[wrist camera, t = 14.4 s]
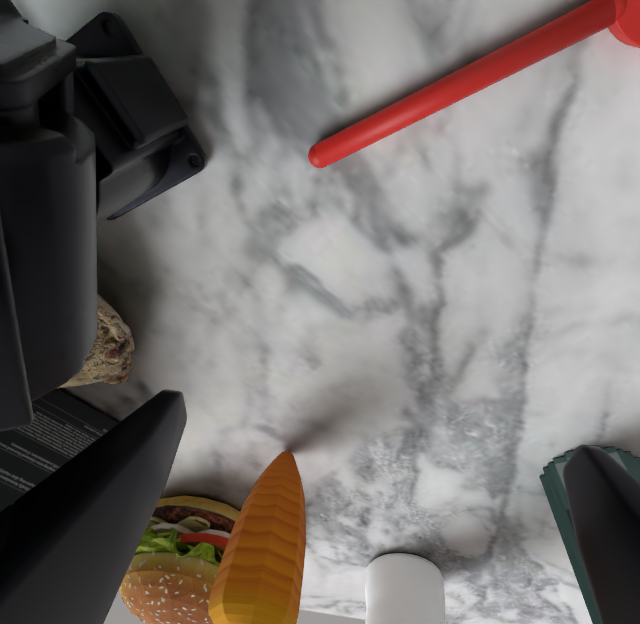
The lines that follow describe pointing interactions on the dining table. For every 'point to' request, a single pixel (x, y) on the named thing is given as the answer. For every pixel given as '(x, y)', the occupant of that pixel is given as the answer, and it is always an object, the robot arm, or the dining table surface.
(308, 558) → the dining table surface
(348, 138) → the spoon
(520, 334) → the dining table surface
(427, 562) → the water bottle
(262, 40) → the dining table surface
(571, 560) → the can
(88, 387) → the dining table surface
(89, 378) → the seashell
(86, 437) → the box
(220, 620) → the carrot
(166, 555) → the food
